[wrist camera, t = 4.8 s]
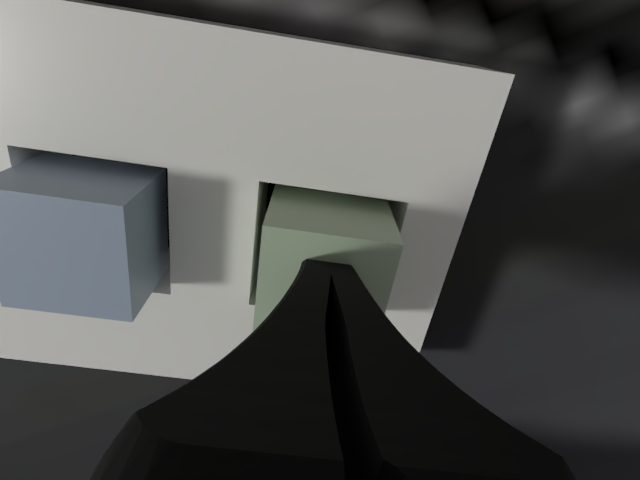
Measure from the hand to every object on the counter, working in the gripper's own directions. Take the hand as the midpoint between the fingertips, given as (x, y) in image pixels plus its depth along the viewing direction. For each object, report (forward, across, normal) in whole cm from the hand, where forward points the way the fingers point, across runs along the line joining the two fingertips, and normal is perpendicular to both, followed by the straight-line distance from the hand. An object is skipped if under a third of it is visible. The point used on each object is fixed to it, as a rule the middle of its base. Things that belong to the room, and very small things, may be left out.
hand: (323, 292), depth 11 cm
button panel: (+5, +7, 0) cm, 9 cm away
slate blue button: (+3, +7, 0) cm, 8 cm away
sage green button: (+3, 0, 0) cm, 3 cm away
